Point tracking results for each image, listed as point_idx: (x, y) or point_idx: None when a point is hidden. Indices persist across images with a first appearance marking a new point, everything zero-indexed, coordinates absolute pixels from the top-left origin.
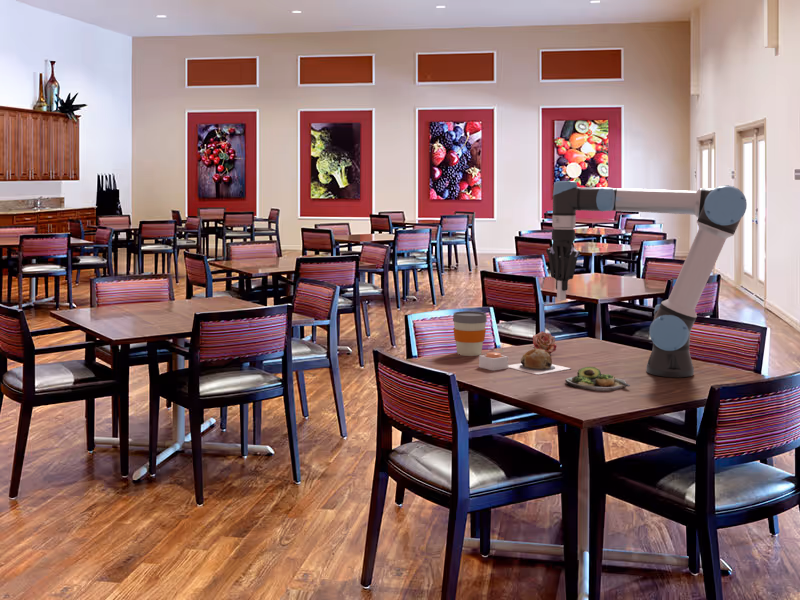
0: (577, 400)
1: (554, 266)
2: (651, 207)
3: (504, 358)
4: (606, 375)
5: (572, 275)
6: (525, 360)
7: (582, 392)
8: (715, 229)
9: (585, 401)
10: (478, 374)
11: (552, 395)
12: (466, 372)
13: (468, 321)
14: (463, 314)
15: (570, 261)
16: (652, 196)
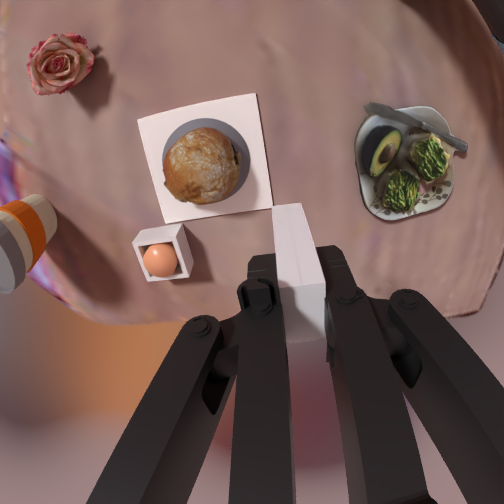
0: (444, 267)
1: (197, 445)
2: None
3: (179, 245)
4: (431, 154)
5: (434, 323)
6: (203, 204)
7: (426, 228)
8: None
9: (453, 261)
10: (215, 299)
11: (406, 280)
12: (192, 306)
13: (22, 276)
14: None
15: (476, 472)
16: None
